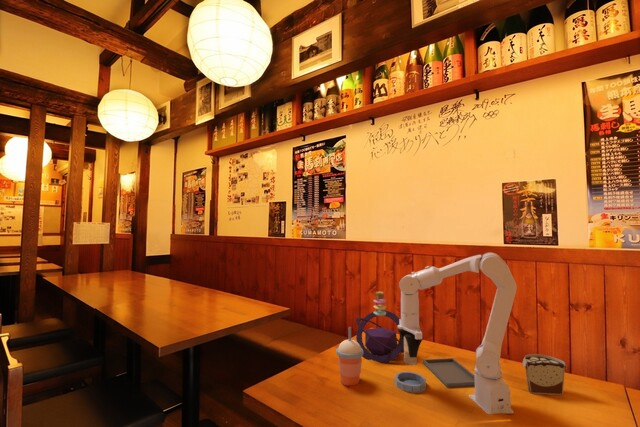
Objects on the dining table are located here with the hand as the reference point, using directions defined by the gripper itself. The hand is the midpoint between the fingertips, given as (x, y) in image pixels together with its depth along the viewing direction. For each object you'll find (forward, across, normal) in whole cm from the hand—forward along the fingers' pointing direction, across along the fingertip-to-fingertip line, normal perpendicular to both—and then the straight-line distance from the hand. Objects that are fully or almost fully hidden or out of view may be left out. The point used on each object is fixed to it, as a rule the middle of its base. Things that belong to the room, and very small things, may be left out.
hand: (410, 353), depth 103 cm
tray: (+10, -6, +17) cm, 21 cm away
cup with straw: (+11, -5, -19) cm, 22 cm away
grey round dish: (+10, 0, 0) cm, 10 cm away
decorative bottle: (+11, -26, -2) cm, 28 cm away
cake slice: (+11, +6, +41) cm, 43 cm away
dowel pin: (+3, 0, 0) cm, 3 cm away
